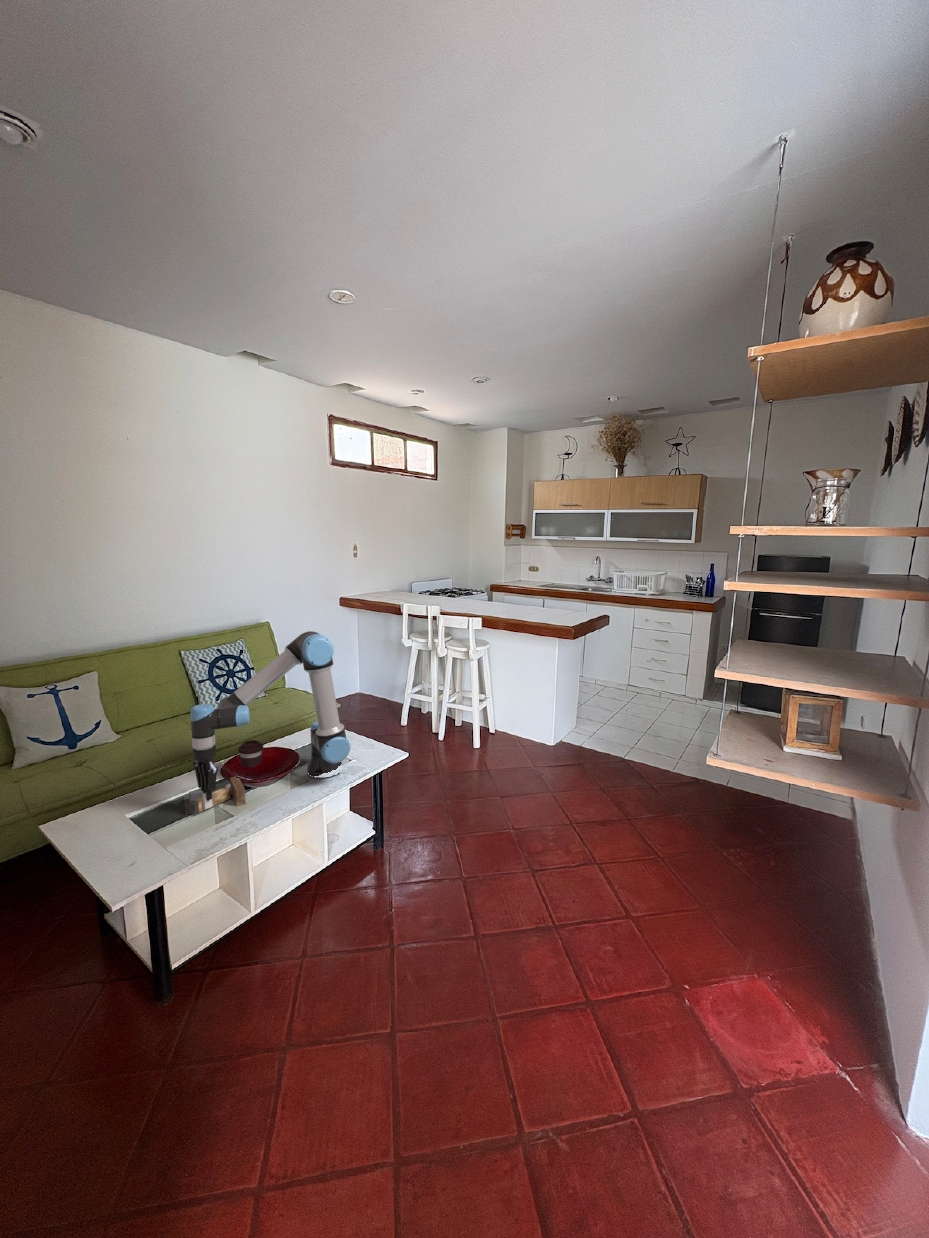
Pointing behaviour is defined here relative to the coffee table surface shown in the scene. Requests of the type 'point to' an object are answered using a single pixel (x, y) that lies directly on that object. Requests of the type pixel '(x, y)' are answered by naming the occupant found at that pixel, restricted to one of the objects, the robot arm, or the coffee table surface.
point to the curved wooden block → (237, 791)
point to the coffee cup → (250, 753)
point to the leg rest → (195, 795)
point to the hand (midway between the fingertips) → (207, 807)
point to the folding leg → (217, 798)
